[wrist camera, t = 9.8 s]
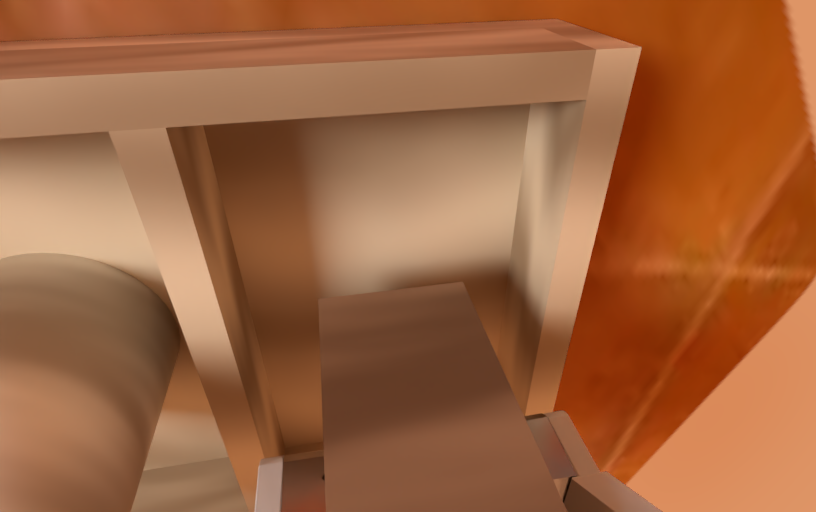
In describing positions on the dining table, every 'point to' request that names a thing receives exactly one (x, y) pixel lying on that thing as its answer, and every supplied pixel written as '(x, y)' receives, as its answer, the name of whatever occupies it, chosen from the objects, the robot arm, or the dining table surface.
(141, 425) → the caddy
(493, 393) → the walnut block
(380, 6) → the dining table surface
